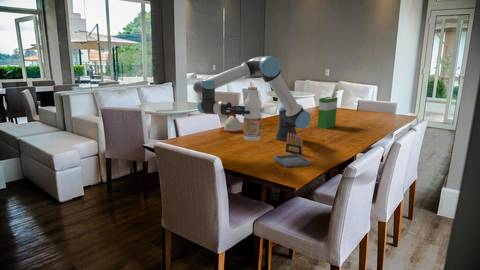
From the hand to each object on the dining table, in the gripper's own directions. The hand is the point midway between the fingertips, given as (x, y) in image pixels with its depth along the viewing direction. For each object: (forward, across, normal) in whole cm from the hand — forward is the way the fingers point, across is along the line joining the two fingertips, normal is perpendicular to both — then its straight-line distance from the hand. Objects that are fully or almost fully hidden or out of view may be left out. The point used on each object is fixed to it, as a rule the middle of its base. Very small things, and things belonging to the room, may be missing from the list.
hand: (260, 111), depth 173 cm
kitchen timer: (-49, -60, -28) cm, 83 cm away
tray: (+16, -7, -28) cm, 33 cm away
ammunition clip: (+12, -25, -28) cm, 39 cm away
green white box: (+11, -114, -29) cm, 118 cm away
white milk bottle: (-4, 0, -16) cm, 16 cm away
